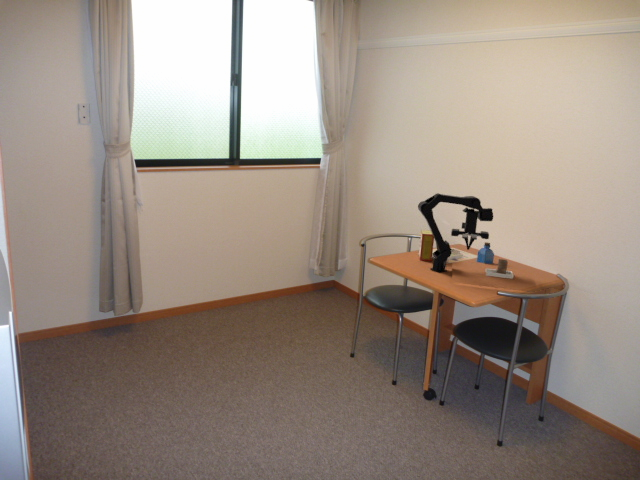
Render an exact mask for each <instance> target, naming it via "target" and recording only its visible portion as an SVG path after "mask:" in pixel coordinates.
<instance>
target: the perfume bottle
mask: <svg viewBox="0 0 640 480" xmlns="http://www.w3.org/2000/svg"><path fill="white" fill-rule="evenodd" d="M476 257H477V258H476V263H480V264H481V263H482V264H491V265H493V264H494V258H495V253H494V251H493V249H491V243H490V242H484V244H483V247H481V248H480V249H479V250H478V252H477V256H476Z"/></svg>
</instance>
